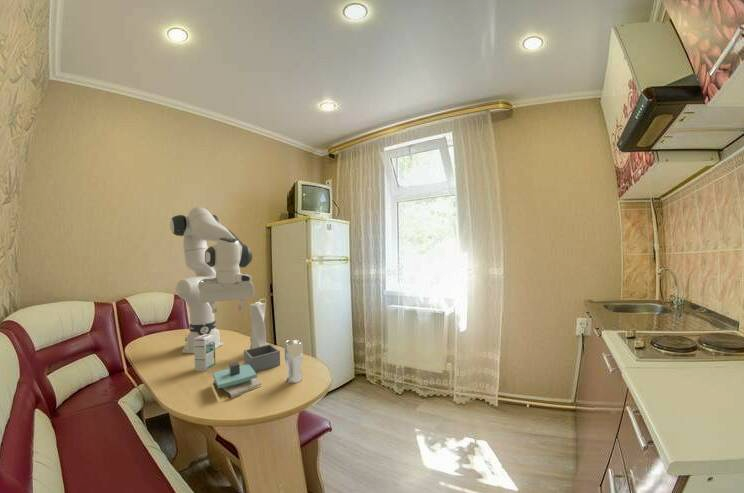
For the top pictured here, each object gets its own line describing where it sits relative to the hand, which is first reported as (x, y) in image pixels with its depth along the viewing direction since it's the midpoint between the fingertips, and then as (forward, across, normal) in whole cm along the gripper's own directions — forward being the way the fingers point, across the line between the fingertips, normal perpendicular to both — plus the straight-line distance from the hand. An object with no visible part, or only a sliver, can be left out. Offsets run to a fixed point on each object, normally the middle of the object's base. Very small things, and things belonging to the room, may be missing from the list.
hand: (227, 311), depth 114 cm
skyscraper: (+28, +17, +16) cm, 37 cm away
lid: (+24, +1, -10) cm, 27 cm away
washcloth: (+28, +2, -10) cm, 30 cm away
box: (+27, +14, +1) cm, 30 cm away
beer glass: (+26, +20, -21) cm, 39 cm away
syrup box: (+28, -6, +16) cm, 33 cm away
